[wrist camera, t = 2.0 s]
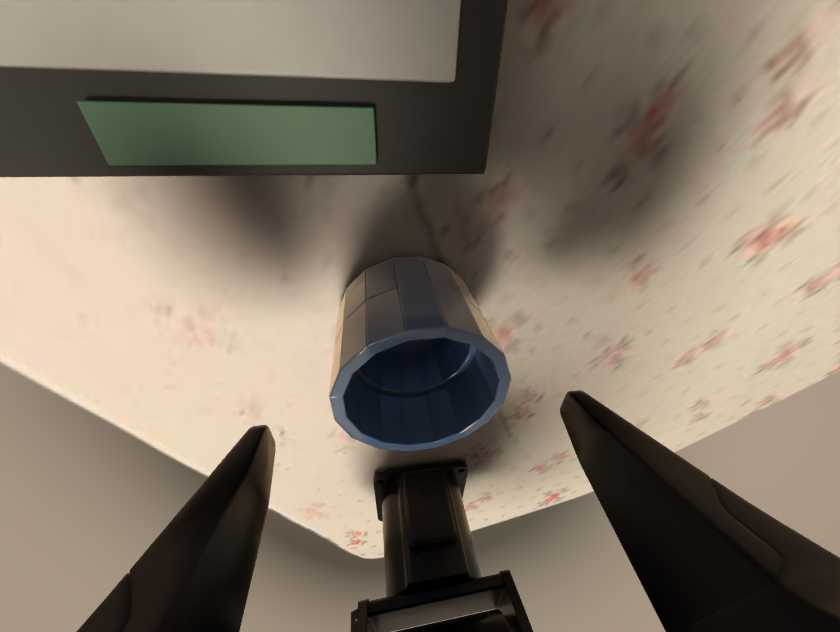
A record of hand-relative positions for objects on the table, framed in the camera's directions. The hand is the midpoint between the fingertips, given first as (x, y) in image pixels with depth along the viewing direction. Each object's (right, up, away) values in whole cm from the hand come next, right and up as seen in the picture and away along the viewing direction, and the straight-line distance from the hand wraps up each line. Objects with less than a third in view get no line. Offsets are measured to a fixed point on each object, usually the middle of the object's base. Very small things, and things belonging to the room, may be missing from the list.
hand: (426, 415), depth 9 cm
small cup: (-1, +3, +4) cm, 6 cm away
